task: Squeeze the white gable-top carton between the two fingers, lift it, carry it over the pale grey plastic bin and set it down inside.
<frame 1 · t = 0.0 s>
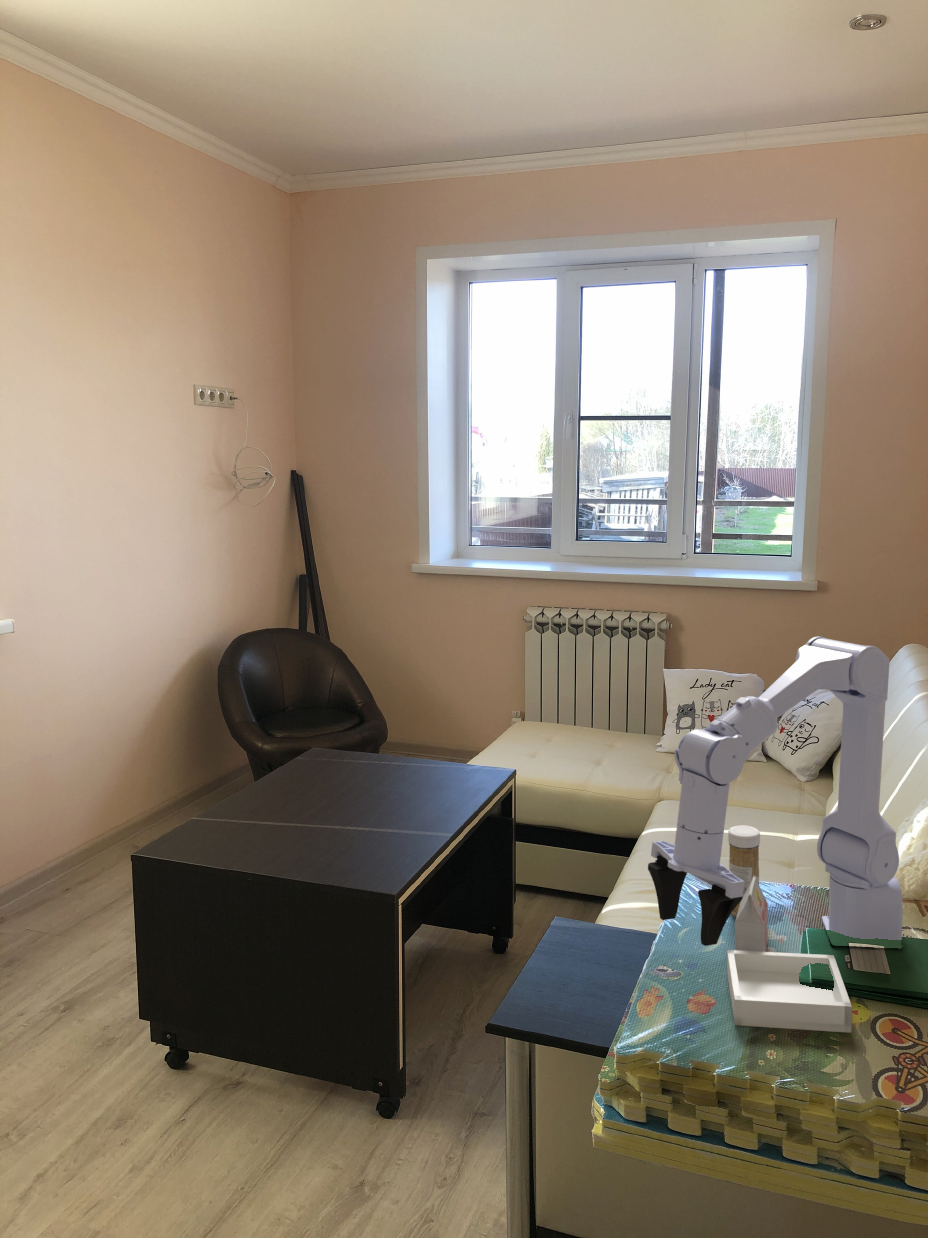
hand: (687, 930, 119), 11 cm above the table, tool pointing down, fingers open, 7 cm apart
white gable-top carton: (751, 952, 133), on the table
bin: (785, 1001, 121), on the table
sprinkles bottle: (744, 914, 144), on the table
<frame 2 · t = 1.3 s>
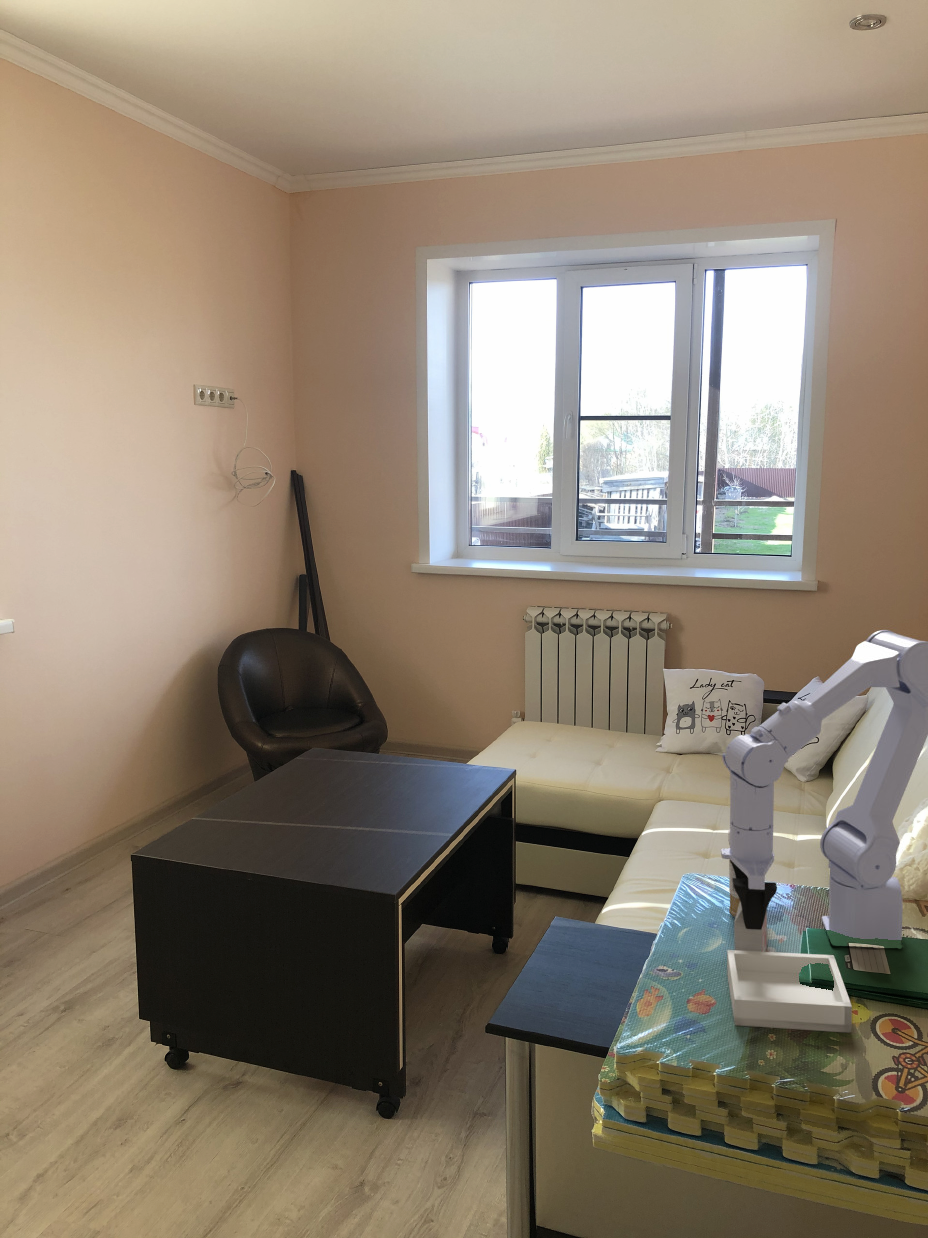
hand: (750, 914, 132), 6 cm above the table, tool pointing down, fingers closed on white gable-top carton, 7 cm apart
white gable-top carton: (751, 953, 133), on the table, touching gripper
everything else where it was.
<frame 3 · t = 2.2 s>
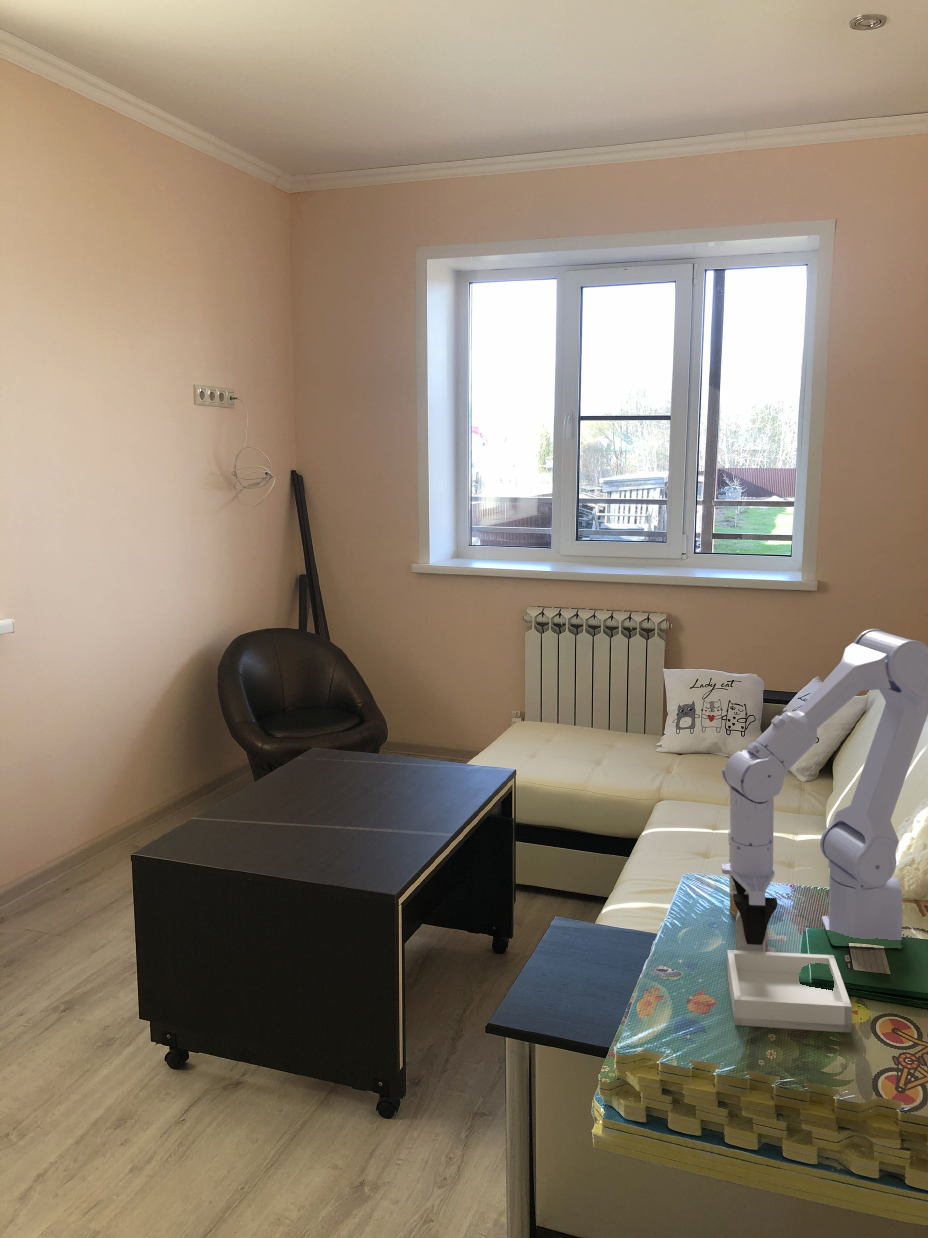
hand: (751, 928, 133), 3 cm above the table, tool pointing down, fingers closed on white gable-top carton, 7 cm apart
white gable-top carton: (751, 952, 133), on the table, touching gripper
everything else where it was.
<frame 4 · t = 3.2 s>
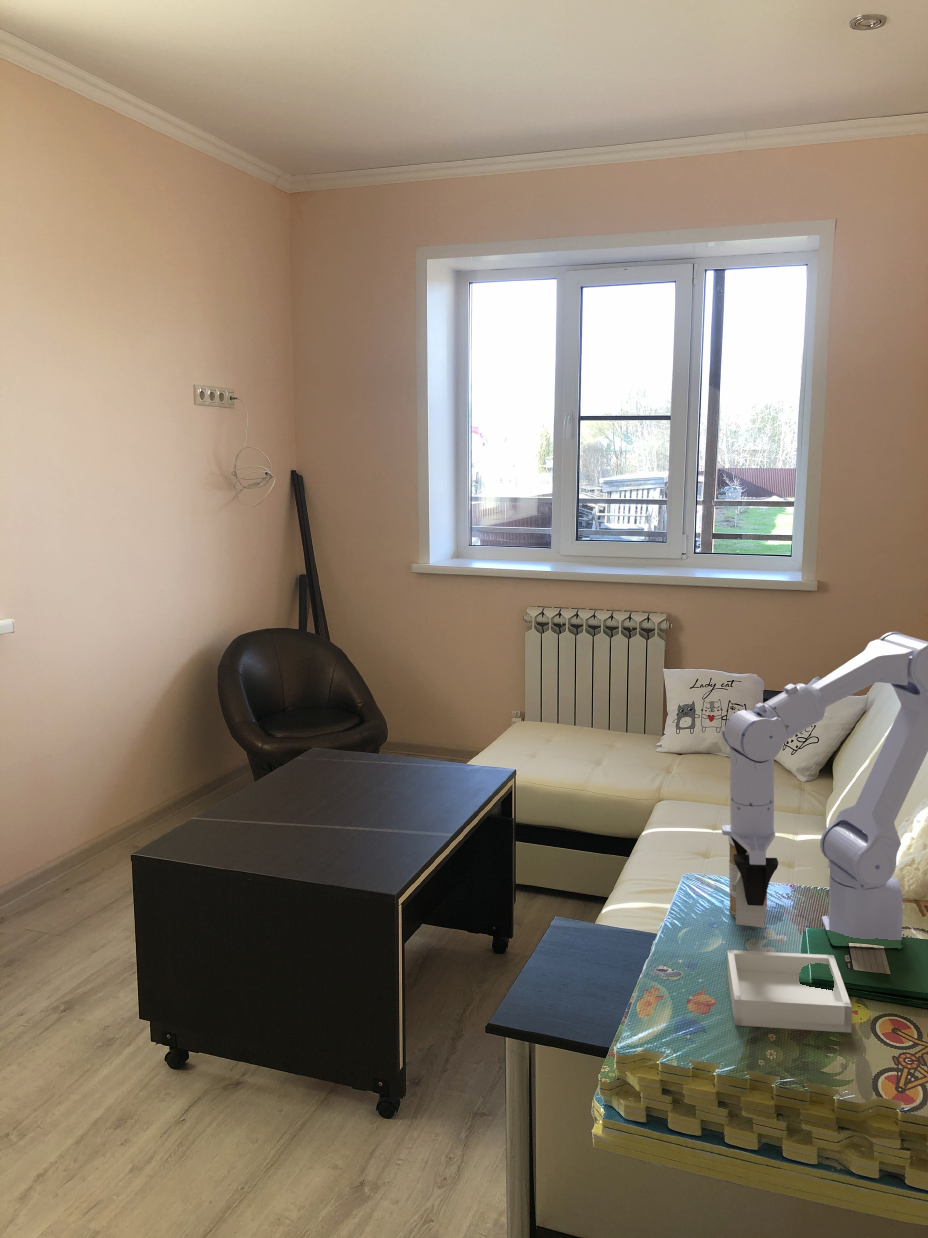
hand: (752, 890, 132), 9 cm above the table, tool pointing down, fingers closed on white gable-top carton, 7 cm apart
white gable-top carton: (751, 916, 132), point 5 cm above the table, touching gripper
everything else where it was.
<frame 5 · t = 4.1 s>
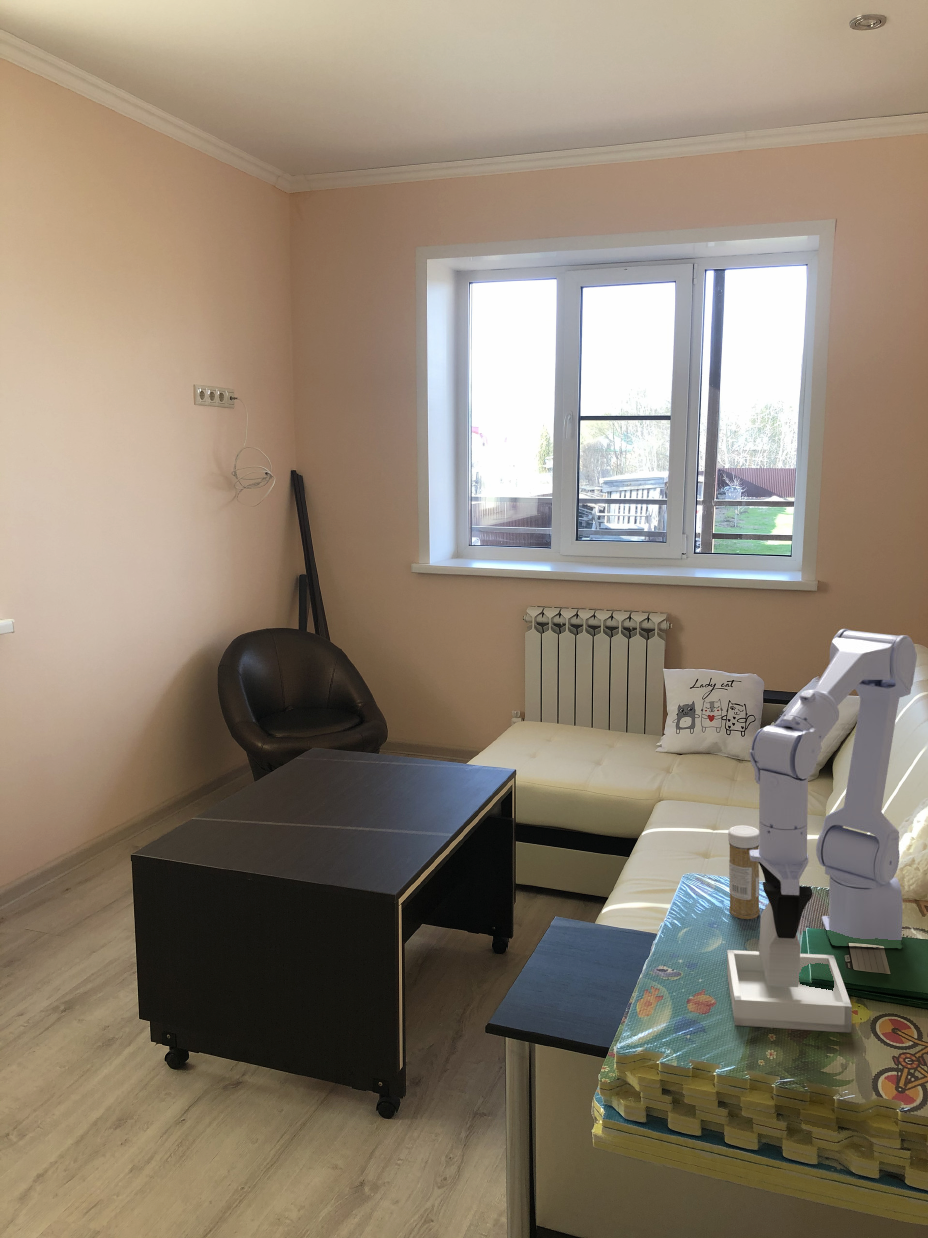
hand: (782, 921, 120), 10 cm above the table, tool pointing down, fingers closed on white gable-top carton, 7 cm apart
white gable-top carton: (777, 971, 122), point 3 cm above the table, touching bin, gripper
everything else where it was.
when the fingers open (10 cm above the table, at t = 4.2 s): white gable-top carton drops 2 cm, resting on bin.
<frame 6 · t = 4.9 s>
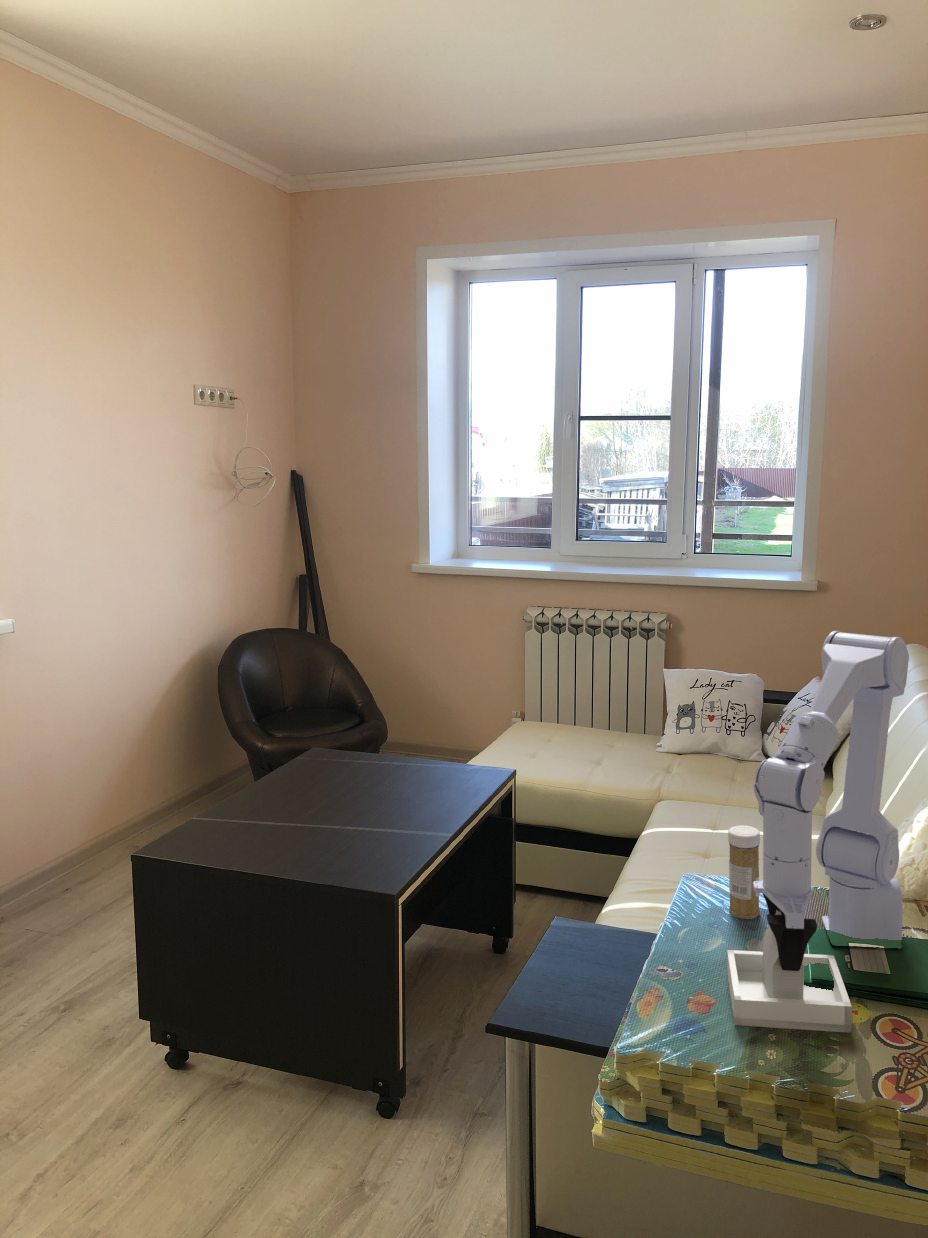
hand: (786, 953, 120), 7 cm above the table, tool pointing down, fingers open, 7 cm apart
white gable-top carton: (782, 996, 121), point 1 cm above the table, touching bin, gripper
everything else where it was.
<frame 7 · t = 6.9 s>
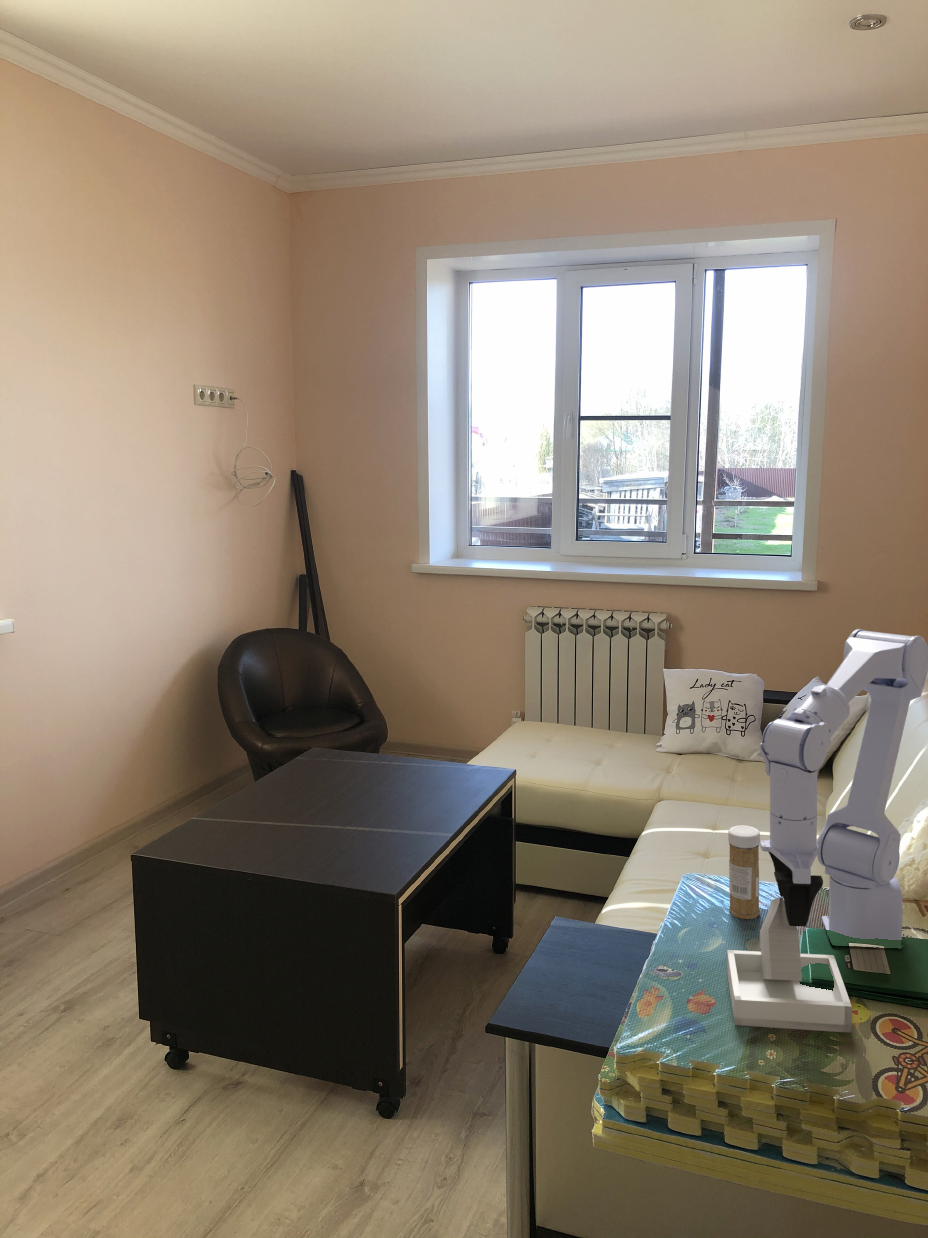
hand: (792, 910, 123), 10 cm above the table, tool pointing down, fingers open, 7 cm apart
white gable-top carton: (781, 981, 121), point 3 cm above the table, touching bin
everything else where it was.
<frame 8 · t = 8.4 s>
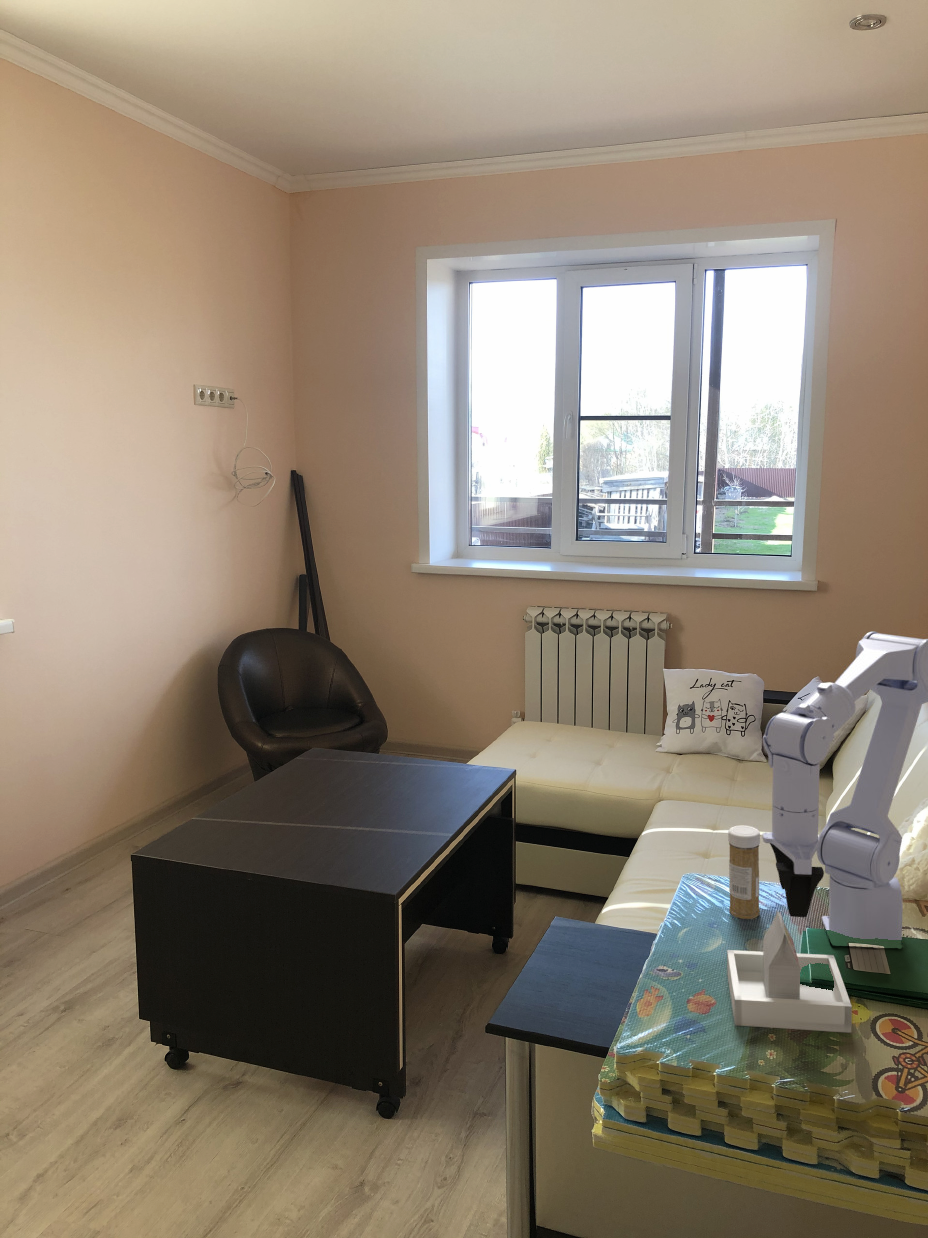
hand: (793, 901, 125), 10 cm above the table, tool pointing down, fingers open, 7 cm apart
white gable-top carton: (780, 996, 121), point 1 cm above the table, touching bin
everything else where it was.
at the end: white gable-top carton inside the target area on the bin (0.6 cm from its centre), point 0.8 cm above the bin's base; the gripper is holding nothing; sprinkles bottle moved 0.2 cm from its start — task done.
